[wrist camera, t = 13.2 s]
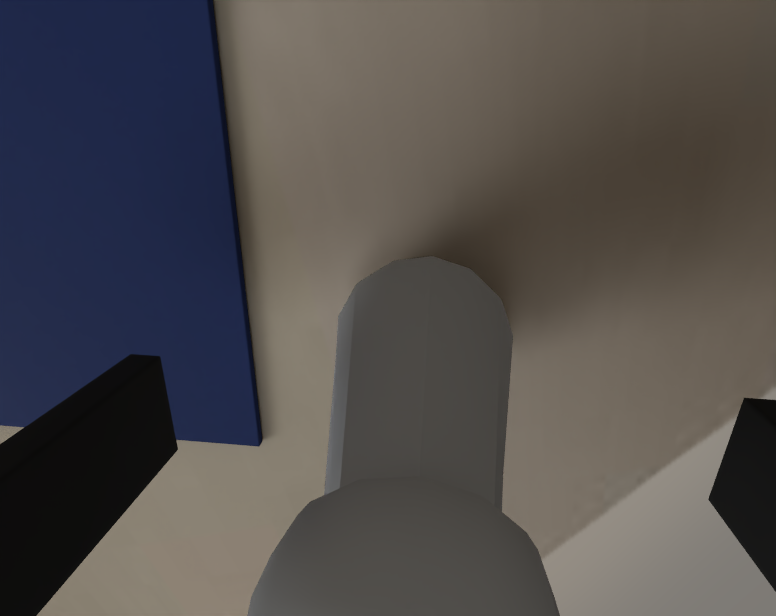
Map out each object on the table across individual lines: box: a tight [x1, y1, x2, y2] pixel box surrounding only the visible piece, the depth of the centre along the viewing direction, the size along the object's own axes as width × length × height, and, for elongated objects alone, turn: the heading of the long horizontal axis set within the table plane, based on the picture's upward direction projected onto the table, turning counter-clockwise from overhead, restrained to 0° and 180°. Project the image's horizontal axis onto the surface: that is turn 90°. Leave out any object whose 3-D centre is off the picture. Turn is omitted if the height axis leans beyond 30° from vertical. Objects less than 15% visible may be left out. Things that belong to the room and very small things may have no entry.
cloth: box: [0, 0, 262, 446], centre depth 17 cm, size 14×18×1 cm
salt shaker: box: [247, 256, 560, 616], centre depth 11 cm, size 6×6×13 cm
